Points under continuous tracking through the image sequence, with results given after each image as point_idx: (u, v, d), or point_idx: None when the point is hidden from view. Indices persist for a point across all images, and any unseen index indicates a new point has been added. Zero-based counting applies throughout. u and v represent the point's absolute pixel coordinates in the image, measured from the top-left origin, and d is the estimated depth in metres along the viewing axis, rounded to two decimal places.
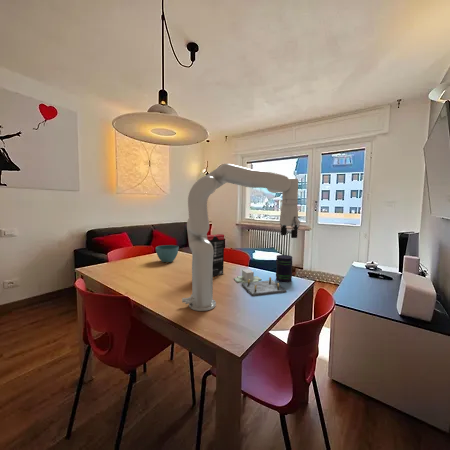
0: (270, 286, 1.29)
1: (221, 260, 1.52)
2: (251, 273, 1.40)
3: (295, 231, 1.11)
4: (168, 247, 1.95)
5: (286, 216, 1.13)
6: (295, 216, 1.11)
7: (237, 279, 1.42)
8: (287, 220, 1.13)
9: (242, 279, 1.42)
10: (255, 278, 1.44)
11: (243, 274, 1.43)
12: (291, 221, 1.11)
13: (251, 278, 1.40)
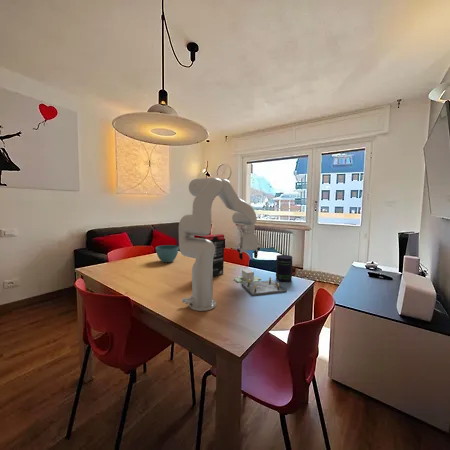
0: (270, 286, 1.29)
1: (221, 260, 1.52)
2: (251, 273, 1.40)
3: None
4: (168, 247, 1.95)
5: (252, 242, 1.39)
6: None
7: (237, 279, 1.41)
8: (254, 245, 1.40)
9: (242, 279, 1.42)
10: (255, 278, 1.44)
11: (243, 274, 1.43)
12: None
13: (251, 278, 1.40)
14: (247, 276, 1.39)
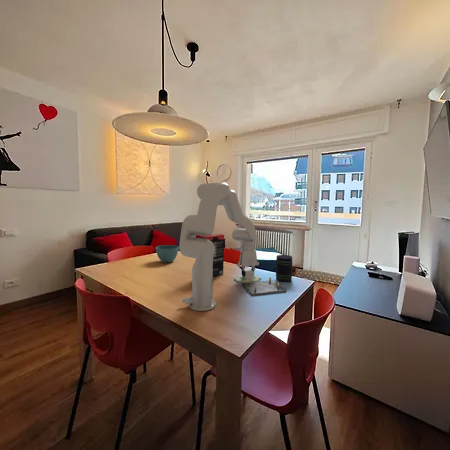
0: (270, 286, 1.29)
1: (221, 260, 1.52)
2: (251, 272, 1.40)
3: None
4: (168, 247, 1.95)
5: (252, 258, 1.40)
6: None
7: (238, 279, 1.41)
8: (254, 261, 1.41)
9: (242, 278, 1.42)
10: (255, 277, 1.44)
11: None
12: None
13: (252, 277, 1.41)
14: (247, 275, 1.39)
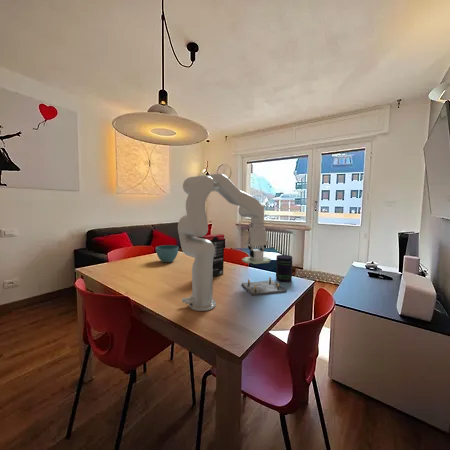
0: (270, 286, 1.29)
1: (221, 260, 1.52)
2: (261, 252, 1.30)
3: None
4: (168, 247, 1.95)
5: (261, 237, 1.30)
6: None
7: (246, 259, 1.31)
8: (263, 241, 1.31)
9: (251, 259, 1.32)
10: (264, 258, 1.34)
11: None
12: None
13: (261, 258, 1.31)
14: (256, 255, 1.29)
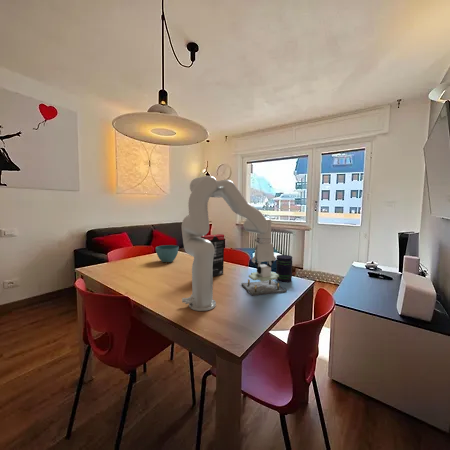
0: (270, 286, 1.29)
1: (221, 260, 1.52)
2: (268, 268, 1.25)
3: None
4: (168, 247, 1.95)
5: (269, 253, 1.25)
6: None
7: (252, 276, 1.26)
8: (270, 256, 1.26)
9: (258, 275, 1.27)
10: (272, 274, 1.29)
11: None
12: None
13: (268, 274, 1.25)
14: (264, 272, 1.24)
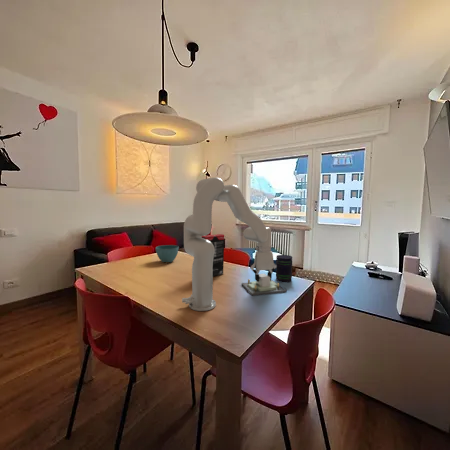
0: None
1: (221, 260, 1.52)
2: (267, 278, 1.25)
3: None
4: (168, 247, 1.95)
5: (268, 261, 1.25)
6: None
7: (252, 285, 1.27)
8: (270, 265, 1.26)
9: (257, 285, 1.27)
10: (271, 284, 1.29)
11: None
12: None
13: (267, 284, 1.26)
14: (263, 282, 1.25)
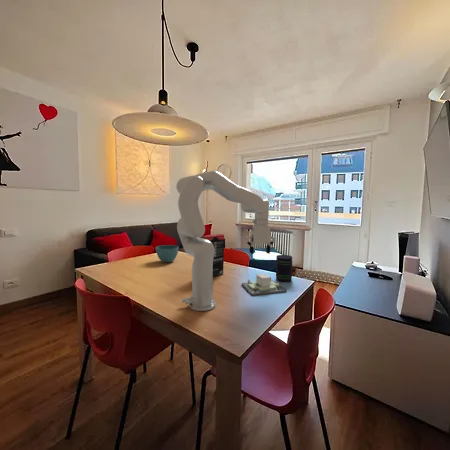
0: None
1: (221, 260, 1.52)
2: (267, 278, 1.25)
3: None
4: (168, 247, 1.95)
5: (265, 235, 1.23)
6: None
7: (252, 285, 1.27)
8: (267, 238, 1.23)
9: (257, 285, 1.27)
10: (271, 284, 1.29)
11: (258, 279, 1.29)
12: None
13: (267, 284, 1.26)
14: (263, 282, 1.25)
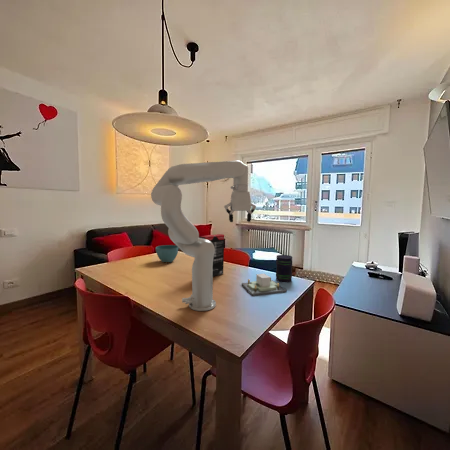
0: None
1: (221, 260, 1.52)
2: (267, 278, 1.25)
3: None
4: (168, 247, 1.95)
5: (245, 201, 1.16)
6: None
7: (252, 285, 1.27)
8: (247, 205, 1.17)
9: (257, 285, 1.27)
10: (271, 284, 1.29)
11: (258, 279, 1.29)
12: None
13: (267, 284, 1.26)
14: (263, 282, 1.25)
